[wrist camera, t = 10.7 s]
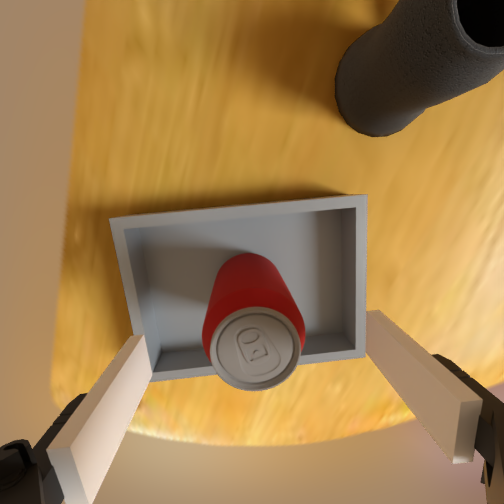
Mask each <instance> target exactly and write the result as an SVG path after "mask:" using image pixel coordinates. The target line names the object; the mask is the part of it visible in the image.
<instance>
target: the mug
mask: <svg viewBox="0 0 504 504" xmlns="http://www.w3.org/2000/svg"><path fill="white" fill-rule="evenodd" d="M503 69H504V0H399V1H398V3H397V4H396V6H395V7H394V9H393V10H392V12H391V13H390V15H389V16H388V17H387V18H386V20H385V21H384V22H383V23H382V24H380V25H378V26H375V27H373V28H372V29H370V30H369V31H368V32H366V33H365V34H363V35H362V36H361V37H360V38H358V39H357V40H356V41H355V42H354V43H353V44H352V45H350V46H349V48H348V49H347V51H346V52H345V54H344V56H343V57H342V59H341V61H340V62H339V66H338V69H337V73H336V76H335V99H336V102H337V106H338V109H339V112H340V114H341V115H342V117H343V118H344V120H345V121H346V123H347V124H348V125H349V126H350V127H352V128H353V129H354V130H356V131H357V132H358V133H361V134H364V135H367V136H371V137H383V136H389V135H391V134H394V133H396V132H398V131H401V130H402V129H403V128H405V127H406V126H407V125H408V124H409V123H411V122H412V121H413V120H414V119H415V118H417V117H418V116H419V115H420V114H422V113H423V112H424V110H425V109H426V108H428V107H431V106H434V105H438V104H440V103H442V102H445V101H447V100H450V99H452V98H454V97H457V96H459V95H461V94H463V93H466V92H468V91H470V90H472V89H475V88H477V87H479V86H481V85H483V84H486V83H488V82H489V81H490V80H491V79H492V78H494V77H495V76H496V75H497V74H499V73H500V72H501V71H502V70H503Z"/></svg>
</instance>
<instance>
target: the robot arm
mask: <svg viewBox="0 0 504 504" xmlns="http://www.w3.org/2000/svg"><path fill="white" fill-rule="evenodd" d="M365 352H366V353H367V354H368V356H369V357H370V358H371V360H372V361H373V362H374V363H375V365H376V366H377V367H378V369H379V370H380V371H381V372H382V374H383V375H384V376H385V378H386V379H387V380H388V381H389V383H390V384H391V385H392V387H393V388H394V389H395V391H396V392H397V393H398V394H399V396H400V397H401V398H402V400H403V401H404V402H405V403H406V405H407V406H408V407H409V409H410V410H411V411H412V412H413V414H414V415H415V416H416V418H417V419H418V420H419V421H420V423H421V424H422V425H423V427H424V428H425V429H426V430H427V432H428V433H429V434H430V436H431V437H432V438H433V440H434V441H435V442H436V443H437V445H438V446H439V447H440V449H441V450H442V451H443V452H444V454H445V455H446V456H447V458H448V459H449V460H450V461H451V463H452V464H456V463H465V462H472V461H473V457H474V451H475V449H476V450H477V451H478V452H479V453H480V454H481V455H482V456H483V458H484V459H485V460H484V466H483V472H482V477H481V483H483V484H485V487H486V499H487V504H504V403H503V402H501V401H500V400H499V399H498V398H497V397H495V396H494V395H493V394H492V393H490V392H489V391H488V390H487V389H485V388H484V387H483V386H482V385H481V384H479V383H478V382H477V381H476V380H474V379H473V378H471V377H470V376H469V375H468V374H467V373H466V372H464V371H462V370H461V368H460V367H458V366H457V365H456V364H455V363H453V362H452V361H451V360H449V359H447V358H445V357H443V356H441V355H439V354H434V355H431V354H429V353H428V352H427V351H426V350H425V349H424V348H423V347H421V346H420V345H419V344H418V343H417V342H416V341H414V340H413V339H412V338H411V337H410V336H409V335H408V334H406V333H405V332H404V331H403V330H402V329H401V328H399V327H398V326H397V325H396V324H395V323H394V322H392V321H391V320H390V319H389V318H388V317H387V316H386V315H384V314H383V313H382V312H381V311H380V310H373V311H366V348H365ZM151 377H152V370H151V365H150V361H149V356H148V352H147V347H146V342H145V338H144V334H143V335H134V336H130V337H129V339H128V340H127V341H126V343H125V344H124V345H123V347H122V348H121V349H120V351H119V352H118V353H117V355H116V356H115V357H114V359H113V360H112V361H111V363H110V364H109V366H108V367H107V368H106V370H105V371H104V372H103V374H102V375H101V376H100V378H99V379H98V380H97V382H96V383H95V384H94V386H93V387H92V388H91V390H90V391H89V392H88V393H85V394H80V395H79V396H77V397H76V398H75V399H74V400H72V401H71V402H70V403H69V404H68V405H67V406H66V407H65V409H64V410H63V411H62V412H61V414H60V416H59V417H58V418H57V419H56V420H55V421H54V422H53V425H52V426H50V428H49V429H48V430H47V431H46V433H45V434H44V435H43V436H42V438H41V439H40V440H39V441H38V443H37V444H36V445H35V446H34V448H33V449H32V448H31V445H30V443H29V441H28V440H24V439H21V440H16V441H12V442H10V443H8V444H5V445H3V446H2V447H0V504H61V503H62V501H63V499H64V500H65V503H66V504H92V503H93V501H94V499H95V497H96V495H97V492H98V490H99V488H100V486H101V484H102V482H103V480H104V477H105V475H106V473H107V471H108V469H109V466H110V464H111V462H112V460H113V458H114V456H115V454H116V452H117V450H118V448H119V445H120V443H121V441H122V439H123V437H124V435H125V433H126V430H127V428H128V426H129V424H130V422H131V420H132V418H133V415H134V413H135V411H136V409H137V407H138V405H139V403H140V400H141V398H142V396H143V394H144V392H145V390H146V388H147V385H148V383H149V381H150V379H151Z"/></svg>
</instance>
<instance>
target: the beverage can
mask: <svg viewBox="0 0 504 504" xmlns="http://www.w3.org/2000/svg"><path fill="white" fill-rule="evenodd" d="M304 342H305V324H304V320H303V317H302V315H301V313H300V311H299V309H298V307H297V305H296V303H295V301H294V299H293V297H292V295H291V293H290V291H289V289H288V287H287V286H286V284H285V282H284V280H283V278H282V276H281V275H280V273H279V271H278V269H277V268H276V266H275V265H274V264H273V263H272V262H271V261H270V260H269V259H267V258H265V257H264V256H261V255H258V254H254V253H244V254H239V255H236V256H234V257H232V258H230V259H229V260H227V261H226V262H225V263H224V264H223V265H222V266H221V268H220V269H219V271H218V273H217V276H216V279H215V282H214V286H213V289H212V293H211V296H210V300H209V304H208V308H207V311H206V315H205V320H204V324H203V328H202V344H203V348H204V351H205V353H206V356H207V357H208V359H209V361H210V362H211V363H212V366H213V368H214V370H215V371H216V373H217V374H218V376H219V377H220V378H221V379H222V380H223V381H225V382H226V383H227V384H229V385H231V386H233V387H235V388H238V389H241V390H245V391H262V390H267V389H270V388H273V387H275V386H277V385H279V384H281V383H282V382H284V381H285V380H286V379H287V378H288V377H289V376H290V375H291V374H292V373H293V372H294V370H295V369H296V367H297V365H298V362H299V359H300V355H301V352H302V349H303V346H304Z"/></svg>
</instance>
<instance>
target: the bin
mask: <svg viewBox="0 0 504 504" xmlns="http://www.w3.org/2000/svg"><path fill="white" fill-rule="evenodd" d="M367 195H368V194H347V195H336V196H326V197H315V198H304V199H293V200H283V201H272V202H261V203H250V204H239V205H229V206H218V207H207V208H196V209H185V210H175V211H164V212H153V213H142V214H131V215H125V216H119V217H114V218H109V222H110V227H111V231H112V236H113V241H114V245H115V250H116V255H117V259H118V264H119V269H120V273H121V278H122V283H123V287H124V292H125V296H126V301H127V306H128V310H129V315H130V320H131V324H132V329H133V334H134V335H143V334H144V338H145V342H146V347H147V352H148V356H149V361H150V365H151V370H152V377H151V379H150V381H149V382H156V381H165V380H174V379H182V378H191V377H199V376H208V375H217V373H216V371H215V370H214V368H213V366H212V363H211V362H210V361H209V359H208V357H207V356H206V353H205V351H204V348H203V344H202V328H203V324H204V320H205V315H206V311H207V308H208V304H209V300H210V296H211V293H212V289H213V286H214V282H215V279H216V276H217V273H218V271H219V269H220V268H221V266H222V265H223V264H224V263H225V262H226V261H227V260H229V259H230V258H232V257H234V256H236V255H239V254H244V253H254V254H258V255H261V256H264V257H265V258H267V259H269V260H270V261H271V262H272V263H273V264H274V265H275V266H276V268H277V269H278V271H279V273H280V275H281V276H282V278H283V280H284V282H285V284H286V286H287V287H288V289H289V291H290V293H291V295H292V297H293V299H294V301H295V303H296V305H297V307H298V309H299V311H300V313H301V315H302V317H303V320H304V324H305V342H304V346H303V349H302V352H301V355H300V359H299V362H298V365H303V364H312V363H320V362H329V361H338V360H346V359H355V358H363V357H365V348H366V272H367Z"/></svg>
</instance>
